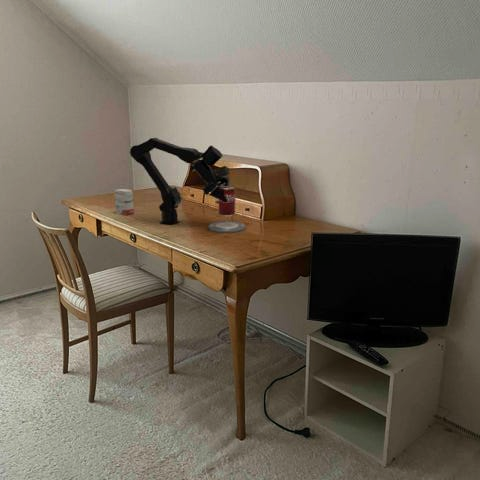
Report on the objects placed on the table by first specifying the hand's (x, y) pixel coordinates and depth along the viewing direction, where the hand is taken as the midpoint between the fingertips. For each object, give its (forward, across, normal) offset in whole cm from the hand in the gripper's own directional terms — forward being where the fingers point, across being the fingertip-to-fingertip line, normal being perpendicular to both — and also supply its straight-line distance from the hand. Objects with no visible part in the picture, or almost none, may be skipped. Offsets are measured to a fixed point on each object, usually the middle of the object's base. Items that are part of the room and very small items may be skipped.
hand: (229, 199), depth 216 cm
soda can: (+4, 0, +6) cm, 7 cm away
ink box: (-31, +9, +50) cm, 60 cm away
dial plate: (+8, 0, +10) cm, 13 cm away
